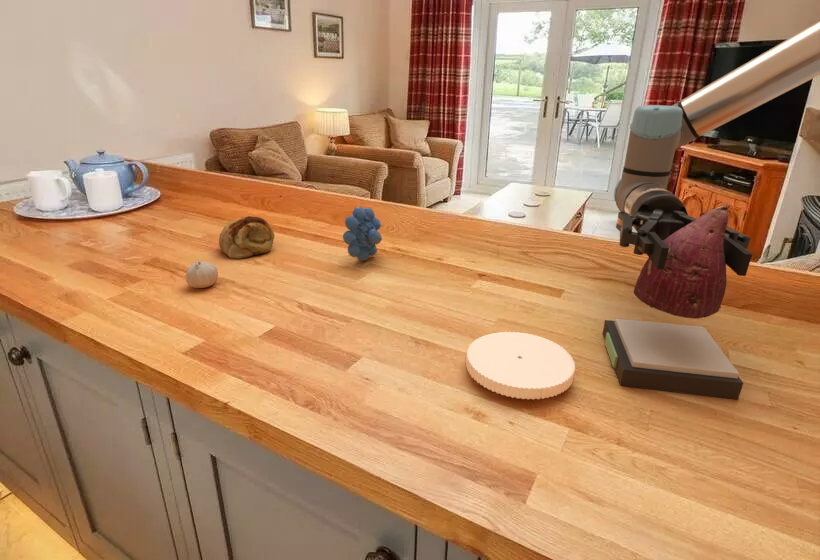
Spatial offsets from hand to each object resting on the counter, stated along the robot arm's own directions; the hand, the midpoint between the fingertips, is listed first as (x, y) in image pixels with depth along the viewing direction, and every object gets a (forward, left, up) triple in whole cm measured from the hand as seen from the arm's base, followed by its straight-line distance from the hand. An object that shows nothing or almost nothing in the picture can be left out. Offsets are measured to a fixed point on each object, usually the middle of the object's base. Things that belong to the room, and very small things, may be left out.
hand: (703, 261), depth 58 cm
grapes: (+51, -33, -17) cm, 63 cm away
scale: (0, -4, -17) cm, 17 cm away
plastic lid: (+20, +3, -17) cm, 26 cm away
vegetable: (0, -5, -8) cm, 9 cm away
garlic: (+77, -14, -17) cm, 80 cm away
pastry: (+79, -35, -17) cm, 88 cm away
